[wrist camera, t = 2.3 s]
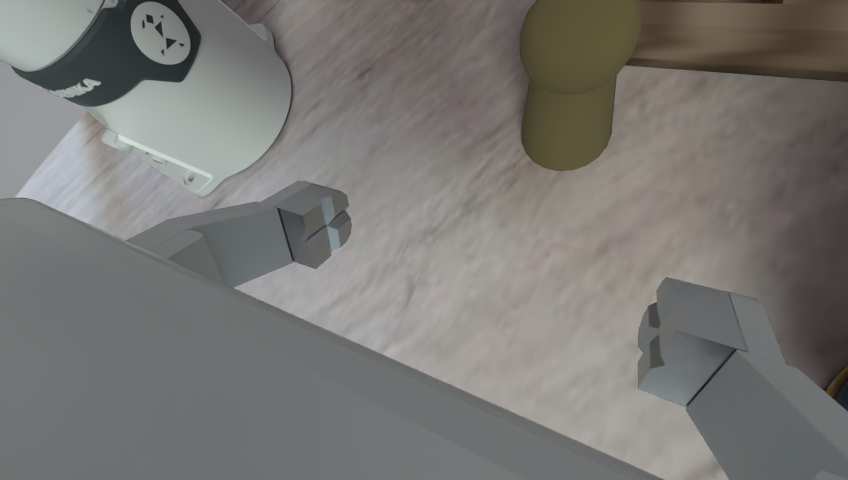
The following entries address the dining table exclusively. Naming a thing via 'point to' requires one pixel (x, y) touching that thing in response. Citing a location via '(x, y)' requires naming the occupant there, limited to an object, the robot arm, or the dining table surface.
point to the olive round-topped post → (574, 76)
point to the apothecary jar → (840, 388)
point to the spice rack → (746, 37)
